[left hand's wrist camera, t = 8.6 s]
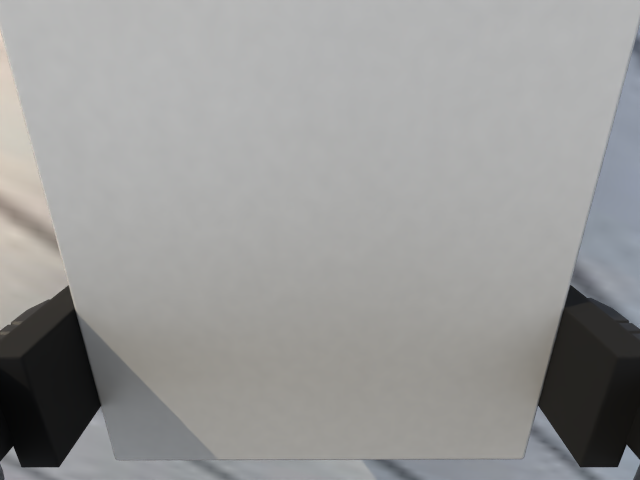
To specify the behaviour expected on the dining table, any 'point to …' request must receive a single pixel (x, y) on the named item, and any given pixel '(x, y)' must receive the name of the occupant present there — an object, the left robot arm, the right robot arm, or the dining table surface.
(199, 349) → the grey rectangular block
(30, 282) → the dining table surface
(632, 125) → the dining table surface
